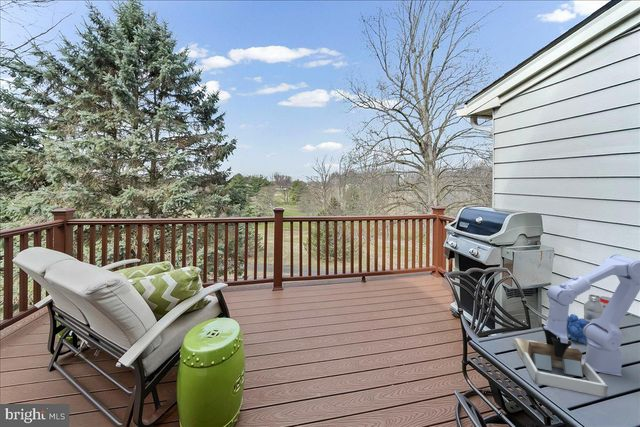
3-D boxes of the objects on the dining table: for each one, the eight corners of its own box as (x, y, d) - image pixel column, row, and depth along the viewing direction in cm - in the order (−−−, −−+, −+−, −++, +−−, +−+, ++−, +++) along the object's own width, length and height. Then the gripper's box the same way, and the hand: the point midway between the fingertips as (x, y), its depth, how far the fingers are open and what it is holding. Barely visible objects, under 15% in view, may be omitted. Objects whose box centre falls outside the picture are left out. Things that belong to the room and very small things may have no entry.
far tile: (548, 355, 113) (550, 356, 111) (549, 369, 111) (551, 370, 109) (533, 353, 114) (535, 353, 113) (534, 367, 113) (535, 367, 111)
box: (586, 373, 109) (587, 363, 109) (606, 397, 97) (607, 386, 97) (523, 361, 116) (524, 352, 116) (534, 382, 104) (535, 372, 104)
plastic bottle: (575, 334, 137) (580, 293, 134) (589, 334, 137) (594, 293, 135) (589, 342, 130) (594, 299, 128) (603, 341, 131) (609, 298, 128)
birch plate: (570, 353, 122) (570, 346, 121) (586, 373, 109) (587, 365, 109) (514, 344, 128) (514, 337, 128) (523, 361, 116) (524, 354, 116)
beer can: (616, 334, 137) (620, 301, 135) (600, 333, 138) (604, 300, 136) (606, 327, 143) (610, 296, 141) (591, 326, 144) (595, 295, 142)
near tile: (577, 361, 110) (580, 361, 108) (580, 376, 108) (583, 376, 106) (561, 358, 111) (563, 358, 110) (563, 373, 109) (566, 373, 108)
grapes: (555, 338, 134) (558, 313, 132) (560, 333, 138) (563, 309, 136) (589, 350, 124) (592, 323, 123) (593, 345, 128) (596, 319, 127)
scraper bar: (577, 360, 112) (578, 349, 112) (580, 364, 110) (582, 353, 109) (527, 351, 118) (529, 341, 117) (530, 356, 115) (531, 345, 114)
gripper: (538, 308, 120) (535, 339, 121) (552, 324, 106) (549, 359, 108) (559, 310, 117) (556, 342, 119) (576, 328, 104) (572, 363, 105)
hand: (554, 351), depth 113 cm, fingers open, 7 cm apart
